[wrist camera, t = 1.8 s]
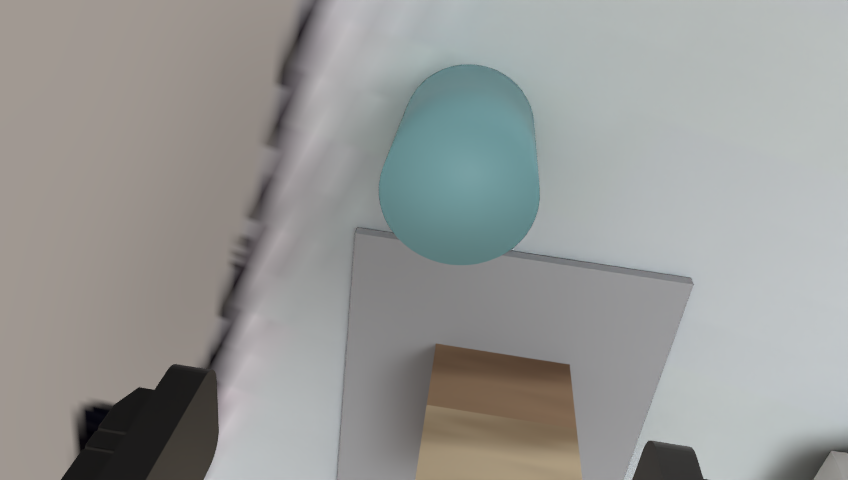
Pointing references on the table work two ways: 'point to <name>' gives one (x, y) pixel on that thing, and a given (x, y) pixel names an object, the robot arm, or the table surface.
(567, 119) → the table surface
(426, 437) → the oak block
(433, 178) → the teal cylinder
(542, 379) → the walnut block
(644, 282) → the slate mat
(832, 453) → the die
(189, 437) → the robot arm
